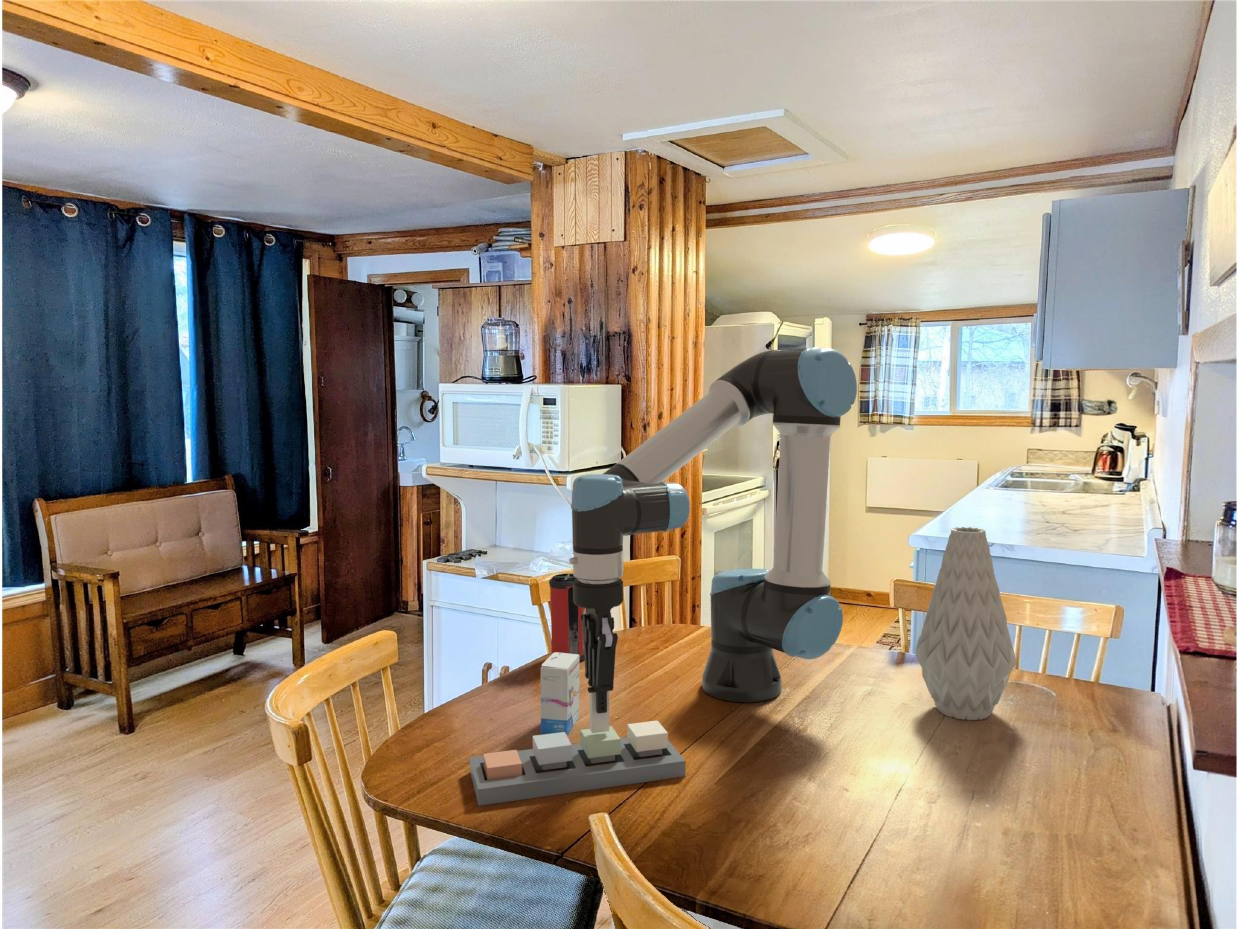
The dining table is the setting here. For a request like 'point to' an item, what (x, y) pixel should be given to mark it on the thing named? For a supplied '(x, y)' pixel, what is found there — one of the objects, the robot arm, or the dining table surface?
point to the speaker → (565, 617)
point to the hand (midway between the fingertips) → (599, 730)
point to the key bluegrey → (552, 750)
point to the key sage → (601, 745)
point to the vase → (966, 631)
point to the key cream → (647, 738)
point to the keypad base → (574, 774)
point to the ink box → (559, 693)
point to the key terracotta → (502, 764)
